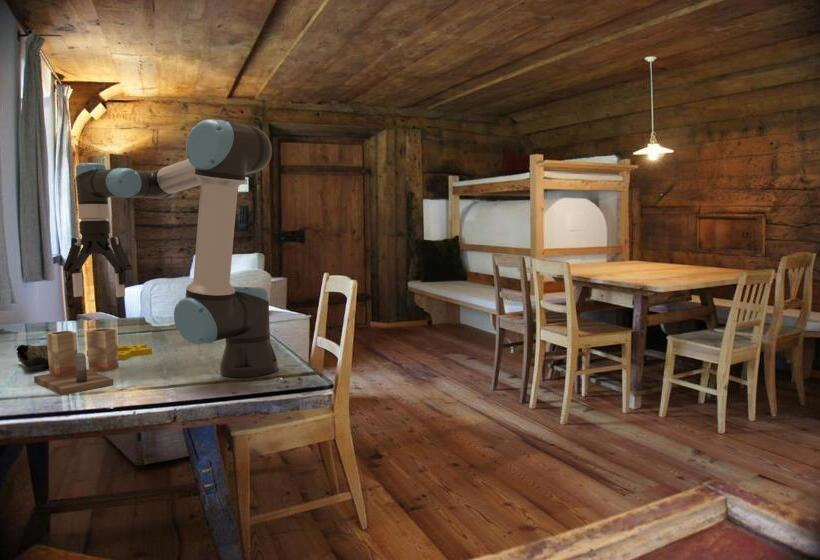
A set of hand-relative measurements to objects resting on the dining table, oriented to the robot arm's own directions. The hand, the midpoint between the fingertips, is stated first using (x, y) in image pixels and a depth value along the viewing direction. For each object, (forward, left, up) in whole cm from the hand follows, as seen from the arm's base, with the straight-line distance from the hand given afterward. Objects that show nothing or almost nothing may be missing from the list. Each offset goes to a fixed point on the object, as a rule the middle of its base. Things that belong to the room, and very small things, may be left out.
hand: (99, 296), depth 177 cm
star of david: (+16, -11, -21) cm, 29 cm away
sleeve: (0, 0, -20) cm, 20 cm away
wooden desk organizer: (-11, +12, -20) cm, 26 cm away
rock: (+18, +8, -21) cm, 29 cm away
